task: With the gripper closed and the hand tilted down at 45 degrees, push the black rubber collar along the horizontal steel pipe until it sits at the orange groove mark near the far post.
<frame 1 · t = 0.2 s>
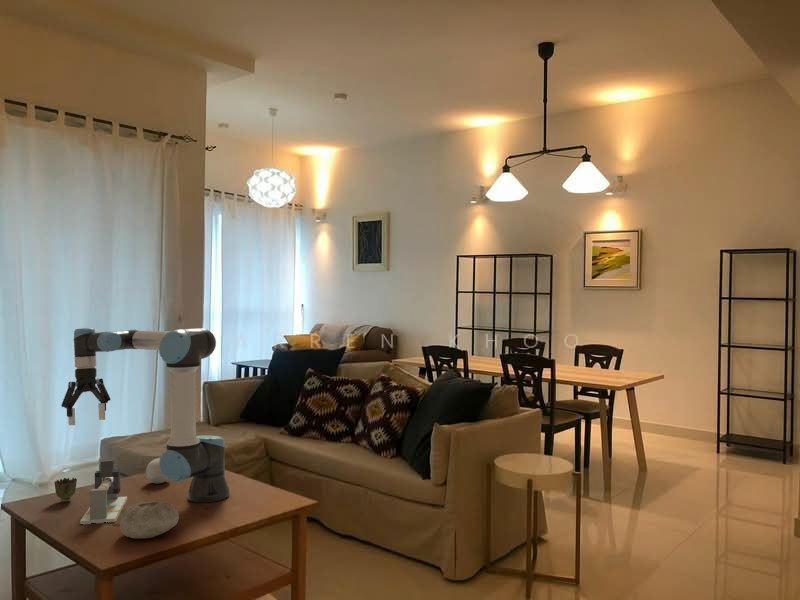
hand: (87, 422, 249), 27 cm above the table, tool pointing down, fingers open, 13 cm apart
grey stone: (149, 534, 207), on the table
collar: (107, 476, 233), point 11 cm above the table, slide at 0.0 cm
cup: (65, 502, 239), on the table
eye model: (159, 483, 262), on the table
pipe stand: (104, 511, 228), on the table
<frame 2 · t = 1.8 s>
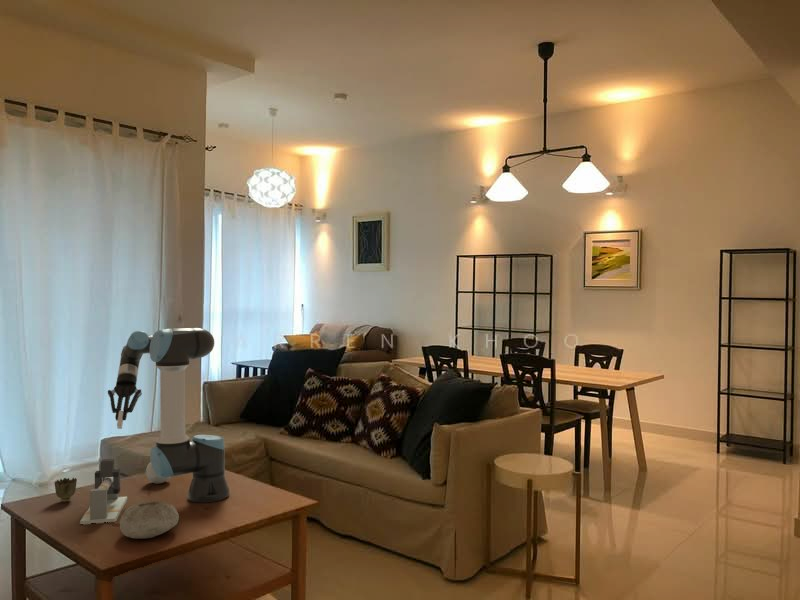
hand: (119, 426, 248), 26 cm above the table, tool tilted 45°, fingers closed
nothing on the table moved.
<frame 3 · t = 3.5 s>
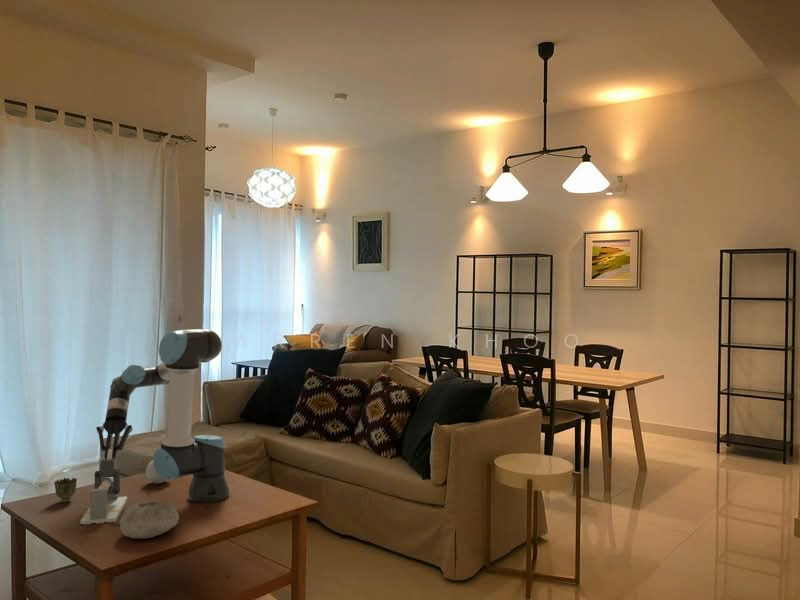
hand: (108, 466, 235), 14 cm above the table, tool tilted 45°, fingers closed
collar: (107, 476, 233), point 11 cm above the table, slide at 0.1 cm, touching gripper
everything else where it was.
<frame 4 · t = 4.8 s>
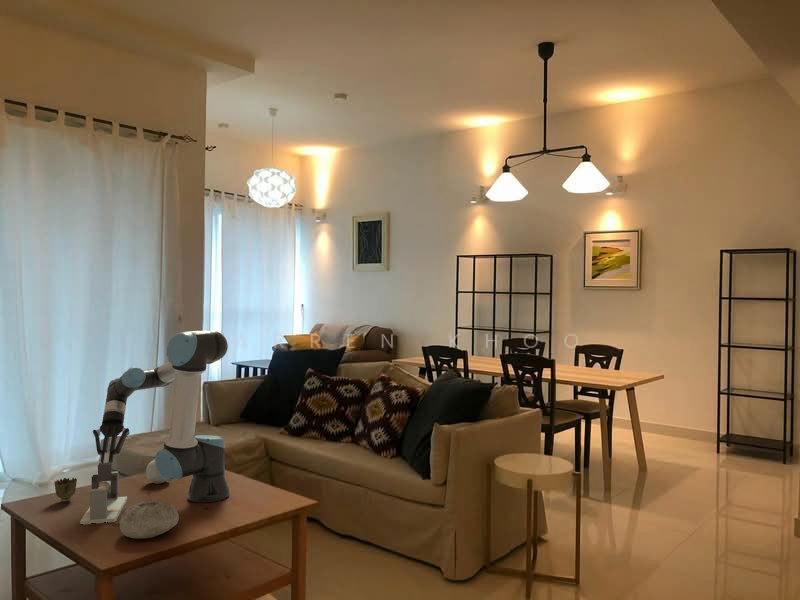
hand: (105, 470, 231), 14 cm above the table, tool tilted 45°, fingers closed
collar: (104, 480, 228), point 11 cm above the table, slide at 5.0 cm, touching gripper
everything else where it was.
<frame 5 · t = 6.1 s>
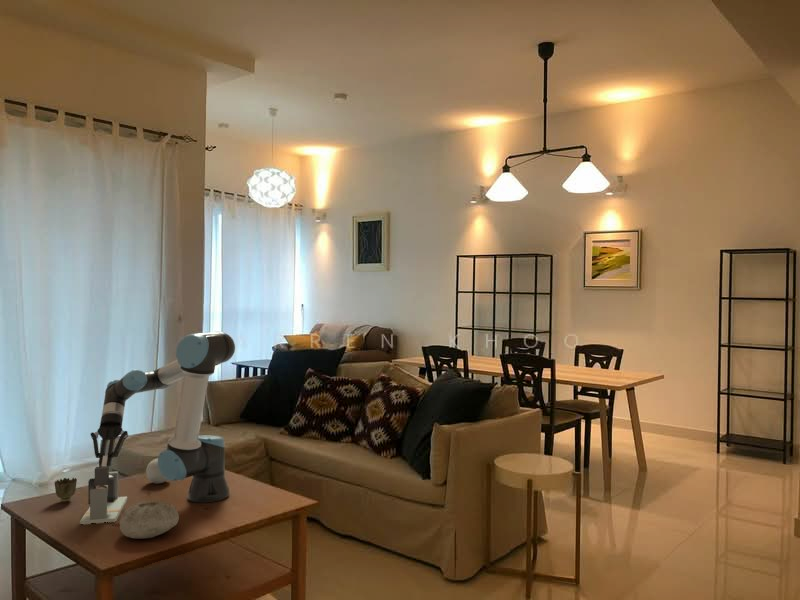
hand: (103, 473, 226), 14 cm above the table, tool tilted 45°, fingers closed
collar: (101, 484, 223), point 11 cm above the table, slide at 10.0 cm, touching gripper
everything else where it was.
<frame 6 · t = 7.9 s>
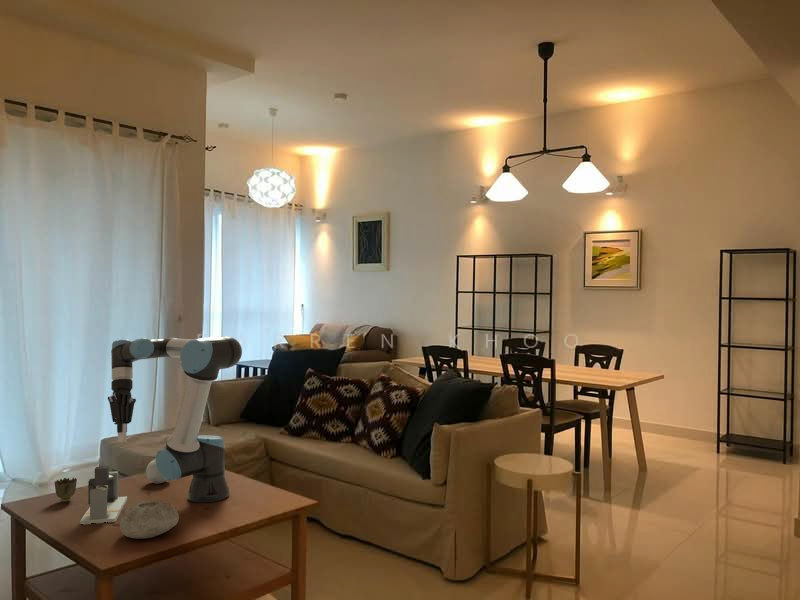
hand: (122, 441, 242), 22 cm above the table, tool tilted 20°, fingers closed
collar: (101, 484, 223), point 11 cm above the table, slide at 10.0 cm
everything else where it was.
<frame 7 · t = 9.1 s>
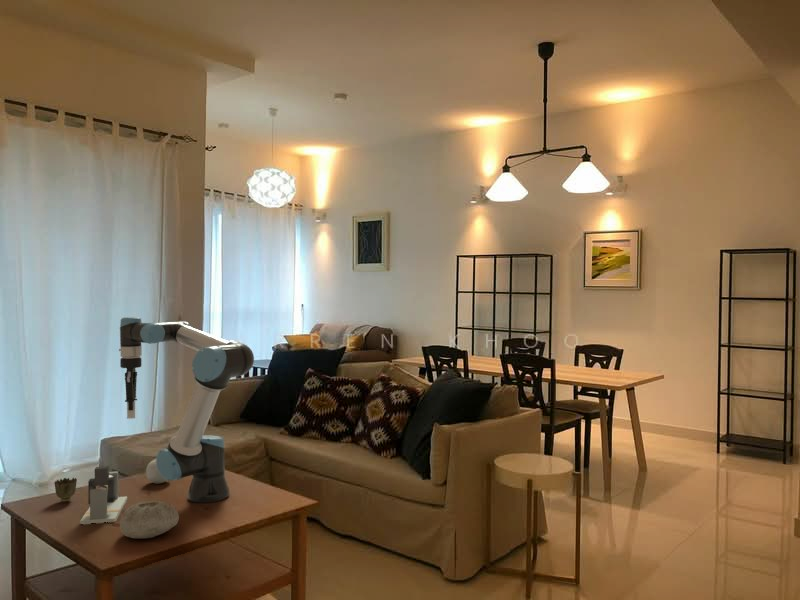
hand: (131, 418, 248), 29 cm above the table, tool pointing down, fingers closed
nothing on the table moved.
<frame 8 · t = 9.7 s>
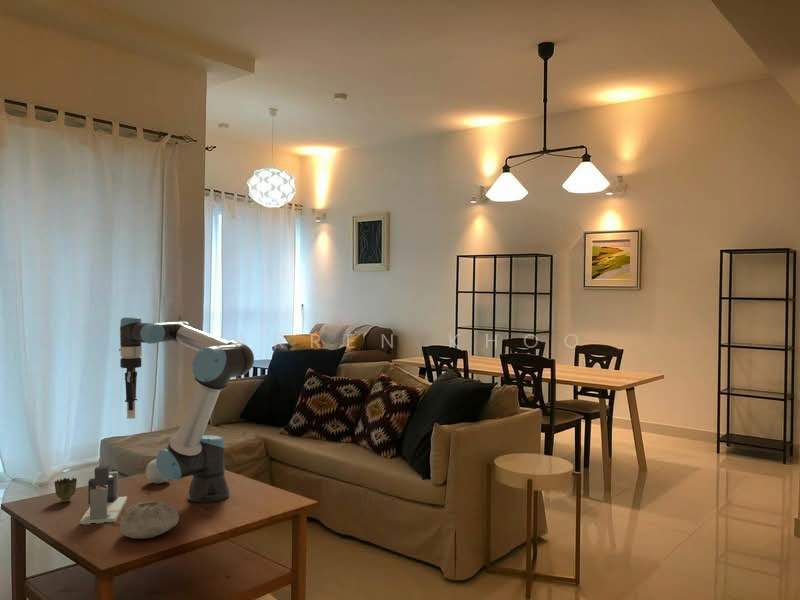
hand: (131, 418, 248), 29 cm above the table, tool pointing down, fingers closed
nothing on the table moved.
at the end: collar slide at 10.0 cm; collar inside the target area on the pipe stand (0.5 cm from its centre), point 11.0 cm above the pipe stand's base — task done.
